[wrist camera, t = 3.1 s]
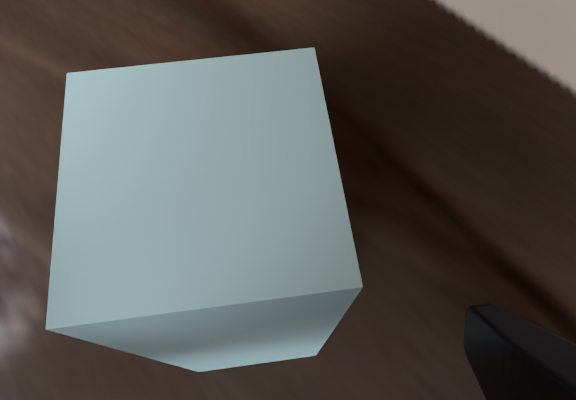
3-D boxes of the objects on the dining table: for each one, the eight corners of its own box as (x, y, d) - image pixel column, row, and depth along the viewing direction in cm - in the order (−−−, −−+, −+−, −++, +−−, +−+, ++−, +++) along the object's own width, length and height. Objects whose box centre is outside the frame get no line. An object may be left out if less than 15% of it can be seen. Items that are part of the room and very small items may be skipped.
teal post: (315, 355, 18) (362, 287, 7) (198, 371, 17) (45, 329, 6) (299, 244, 19) (314, 47, 8) (193, 258, 19) (66, 73, 8)
